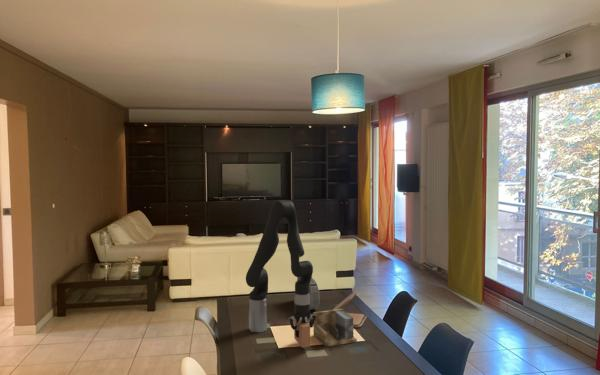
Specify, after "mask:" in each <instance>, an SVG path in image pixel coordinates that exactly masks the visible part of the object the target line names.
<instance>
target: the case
mask: <svg viewBox="0 0 600 375" xmlns="http://www.w3.org/2000/svg"><path fill="white" fill-rule="evenodd" d="M357 292H358V290H354V291H353V292H352V293H351V294H349V295H348V296H347V297H346V298H344V299H343V300H342V301H341V302H340V303H338V304H337V305H336V306H335V307H334V308H332V310H337V309H344V307H346V306H347V305H348V304H350V303H351V302H352V300H353V298H355V297H356V295H357ZM346 313H347V314H348V315H350V316H351V317H353V329H355V328H356V329H359V328H362V326H363V324H364V323H365V322H366V319H367V318H368V316H367V315H366V314H363V313H355V312H346Z"/></svg>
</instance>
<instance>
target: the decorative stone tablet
mask: <svg viewBox="0 0 600 375" xmlns="http://www.w3.org/2000/svg"><path fill="white" fill-rule="evenodd" d="M301 277H302V276H301ZM301 277H296V278H297V279H296V281H298V280H300V279H301ZM309 295H310V311H311V310H317V309H318V307H319V306H320V298H321V297H320V290H319V285H318V284H317V282H316V280H315V279H314V278H313V276H312V277H311V281H310V284H309Z"/></svg>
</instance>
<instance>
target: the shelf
mask: <svg viewBox="0 0 600 375" xmlns="http://www.w3.org/2000/svg"><path fill="white" fill-rule="evenodd" d="M347 313H348V312H346V311H345V309H344V308H342V309H337V310H333V309H330V310H322V311H315V312H313V314H314V315H315V316H316V318H315V321H314V324H313V336H314V337H315V338H316V339H317V340H318V341H319V342H320V343H321V344H322V345H323V346H324V347H332V346H339V345H344V344H352V343H357V341H358V339H357V338H356V337H355V336H354V327H353V317H351V316H350V315H348V314H347Z"/></svg>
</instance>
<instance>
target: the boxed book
mask: <svg viewBox="0 0 600 375" xmlns="http://www.w3.org/2000/svg"><path fill="white" fill-rule="evenodd" d="M293 323H294V326H295V325H296V320H295V318H294V321H293ZM297 323H298V322H297ZM308 323H309V322H308ZM308 323H301V324H299V338H297V337H296V336H295V330H293V331H294V332H293V333H294V340H295V341H296V342H297V344H299V346H300V347H301V348H310V347H311V328H310V325H309V324H308Z"/></svg>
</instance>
